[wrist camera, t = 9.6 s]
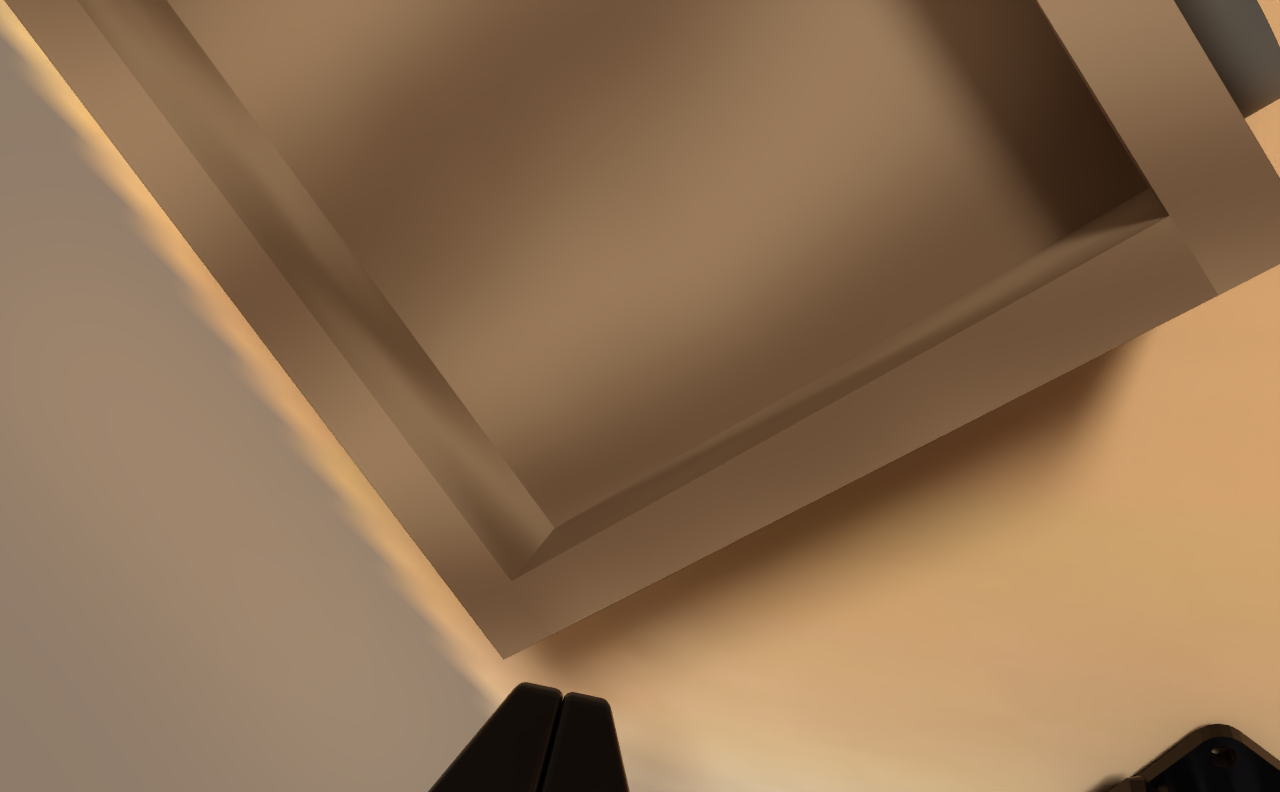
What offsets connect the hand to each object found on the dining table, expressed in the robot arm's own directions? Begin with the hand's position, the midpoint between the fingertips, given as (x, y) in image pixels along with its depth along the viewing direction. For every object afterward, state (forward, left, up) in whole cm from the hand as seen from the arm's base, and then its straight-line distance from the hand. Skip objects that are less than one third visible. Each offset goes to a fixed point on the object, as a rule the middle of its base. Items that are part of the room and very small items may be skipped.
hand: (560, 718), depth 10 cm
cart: (+6, -3, -13) cm, 15 cm away
